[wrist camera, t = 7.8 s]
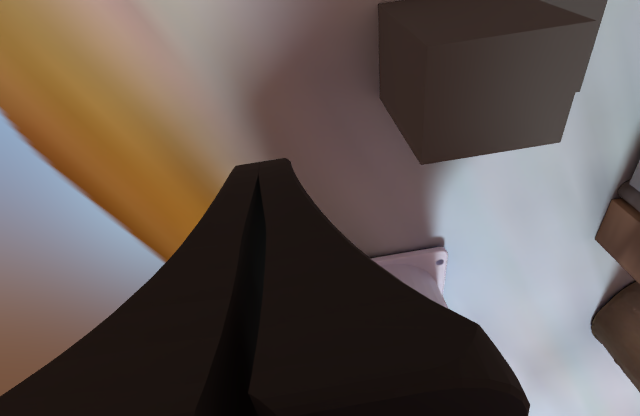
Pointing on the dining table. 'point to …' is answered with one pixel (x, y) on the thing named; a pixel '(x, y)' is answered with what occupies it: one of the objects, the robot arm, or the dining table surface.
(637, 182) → the door
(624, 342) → the pillar candle
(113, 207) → the dining table surface
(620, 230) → the brown wooden bar
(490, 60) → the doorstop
